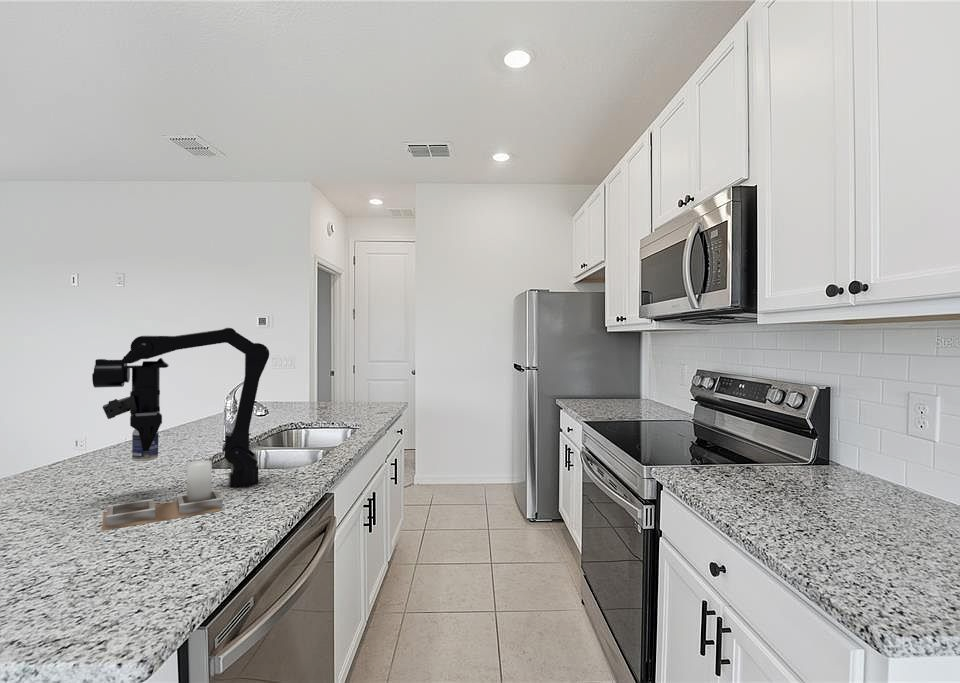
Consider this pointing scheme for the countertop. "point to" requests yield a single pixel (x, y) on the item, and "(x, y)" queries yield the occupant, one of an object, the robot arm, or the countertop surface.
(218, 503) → the board
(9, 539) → the countertop surface
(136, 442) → the pill bottle
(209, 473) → the pin
